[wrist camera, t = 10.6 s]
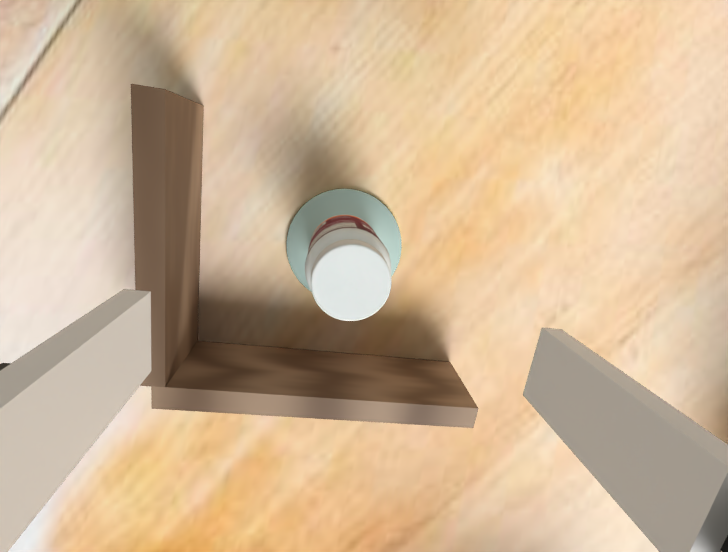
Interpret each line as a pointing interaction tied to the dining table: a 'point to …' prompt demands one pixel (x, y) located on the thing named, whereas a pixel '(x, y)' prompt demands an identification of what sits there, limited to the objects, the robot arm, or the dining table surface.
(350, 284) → the pill bottle
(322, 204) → the disc
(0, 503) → the robot arm
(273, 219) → the dining table surface
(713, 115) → the dining table surface
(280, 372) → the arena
